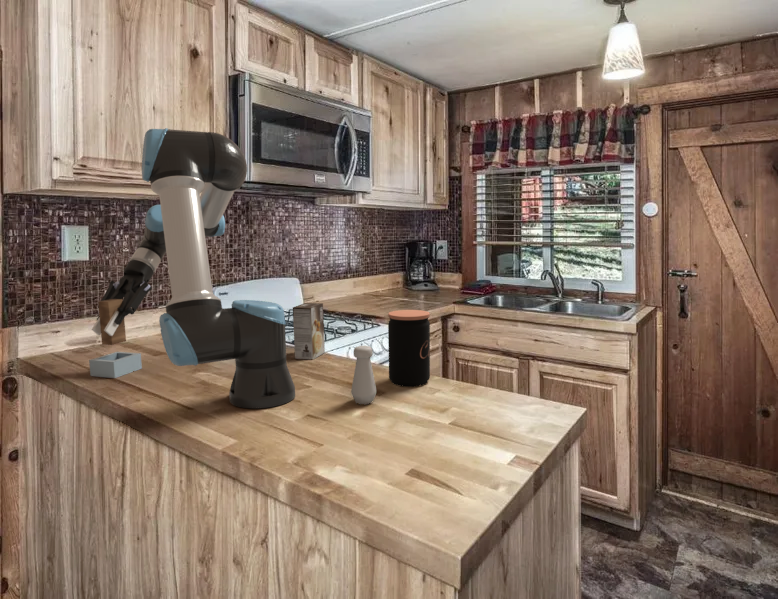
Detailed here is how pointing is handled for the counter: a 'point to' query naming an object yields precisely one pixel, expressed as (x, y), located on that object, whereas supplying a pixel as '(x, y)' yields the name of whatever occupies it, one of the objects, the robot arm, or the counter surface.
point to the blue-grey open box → (115, 364)
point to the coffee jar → (409, 347)
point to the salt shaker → (363, 376)
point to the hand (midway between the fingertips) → (101, 332)
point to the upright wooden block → (106, 313)
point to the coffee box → (308, 330)
